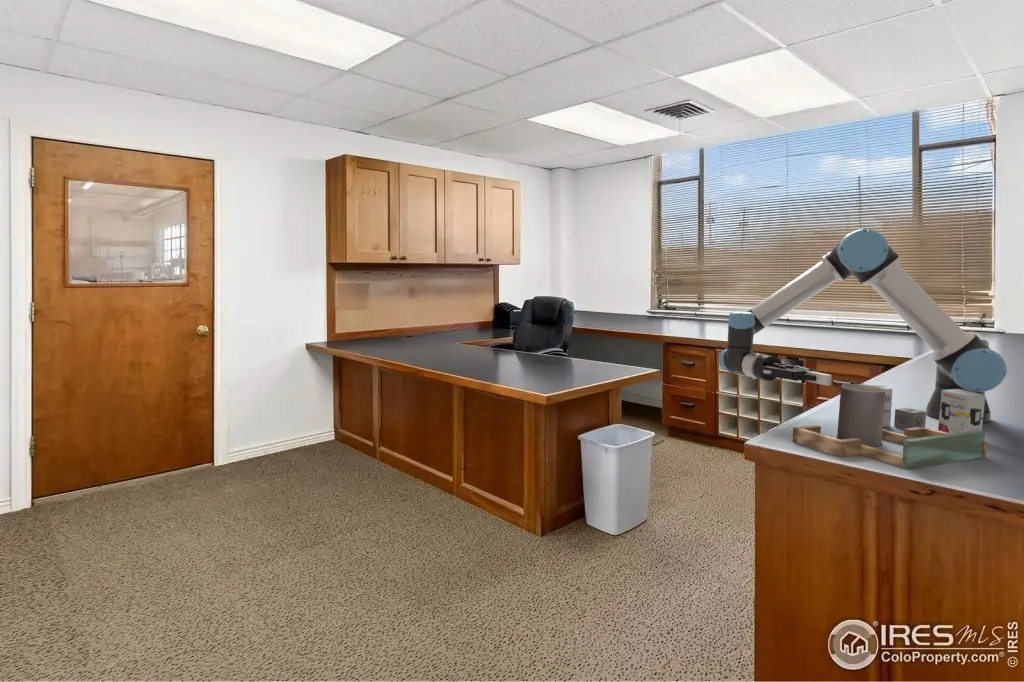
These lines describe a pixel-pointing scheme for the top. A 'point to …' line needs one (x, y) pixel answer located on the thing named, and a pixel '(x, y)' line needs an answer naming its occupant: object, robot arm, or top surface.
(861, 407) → the pillar candle
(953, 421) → the ink box
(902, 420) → the grey cube block
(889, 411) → the light bulb box
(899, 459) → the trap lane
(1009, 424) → the top surface
